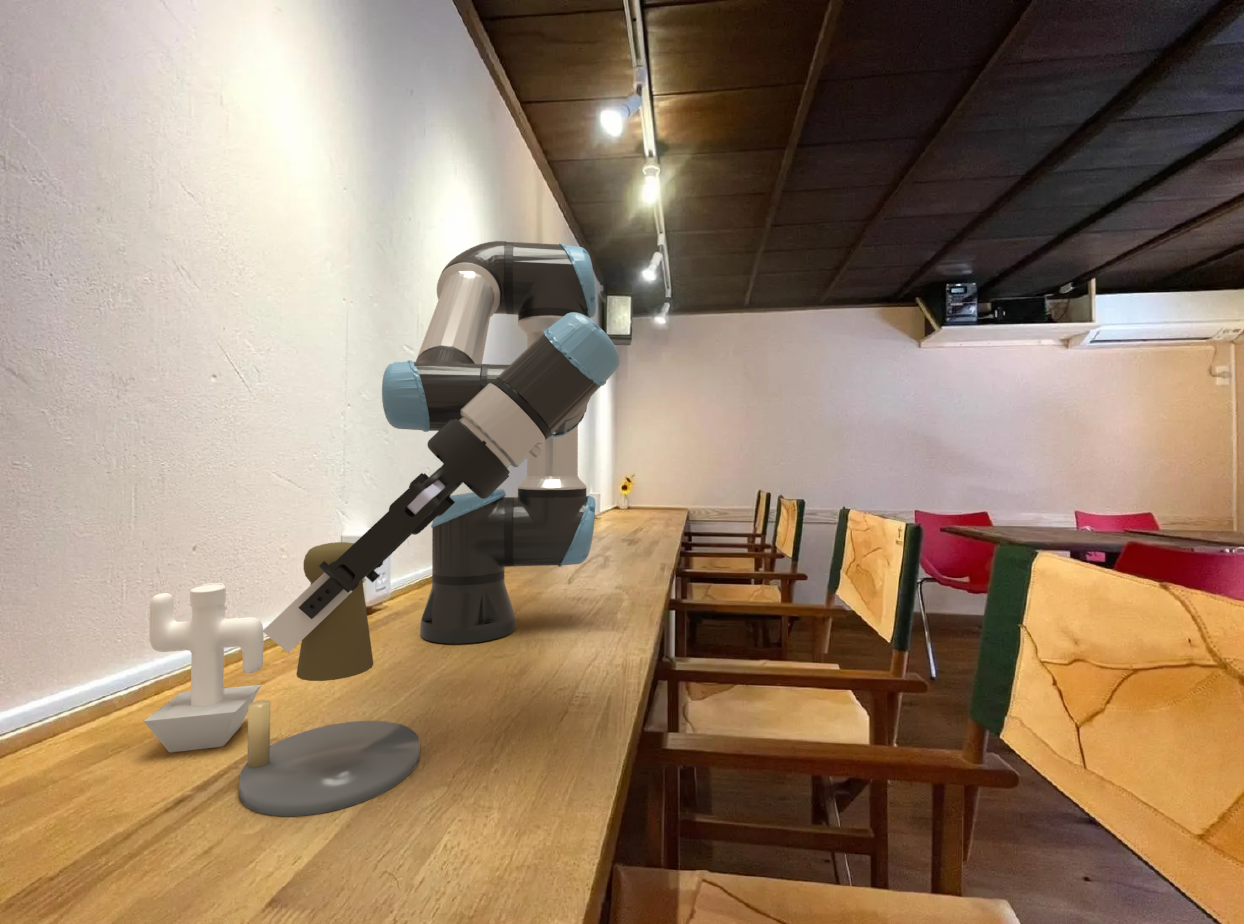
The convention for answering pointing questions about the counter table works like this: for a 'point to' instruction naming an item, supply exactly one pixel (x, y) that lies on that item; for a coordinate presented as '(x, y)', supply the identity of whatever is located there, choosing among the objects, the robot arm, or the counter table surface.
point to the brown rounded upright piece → (335, 628)
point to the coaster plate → (323, 765)
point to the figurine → (204, 669)
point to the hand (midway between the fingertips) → (289, 631)
